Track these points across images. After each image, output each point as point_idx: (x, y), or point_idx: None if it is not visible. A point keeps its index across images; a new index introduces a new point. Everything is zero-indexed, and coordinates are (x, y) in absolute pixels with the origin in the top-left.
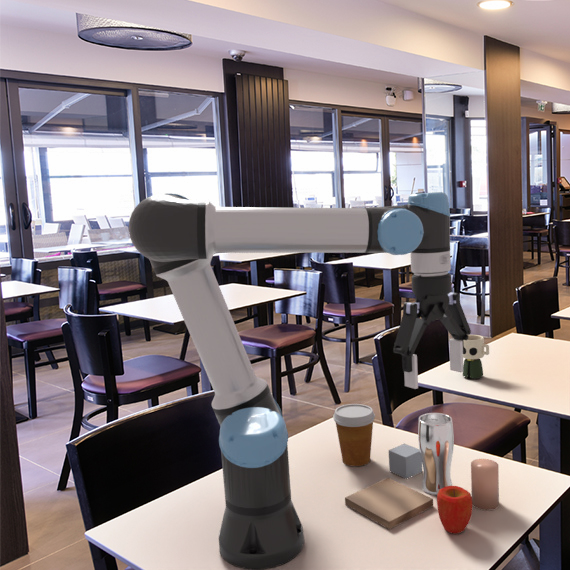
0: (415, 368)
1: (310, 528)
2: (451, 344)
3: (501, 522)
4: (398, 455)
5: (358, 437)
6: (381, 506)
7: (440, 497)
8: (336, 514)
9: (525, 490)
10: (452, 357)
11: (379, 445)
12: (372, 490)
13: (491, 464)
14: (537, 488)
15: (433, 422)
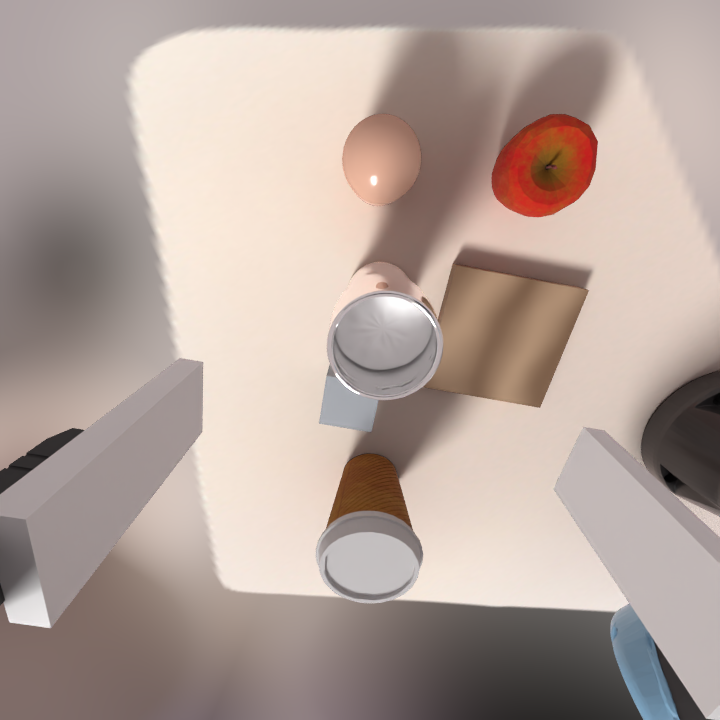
0: (696, 523)
1: (637, 400)
2: (87, 561)
3: (437, 98)
4: (377, 404)
5: (396, 501)
6: (538, 335)
7: (586, 188)
8: (573, 393)
9: (264, 118)
10: (159, 468)
11: (286, 476)
12: (487, 382)
13: (370, 141)
14: (236, 96)
15: (342, 366)
